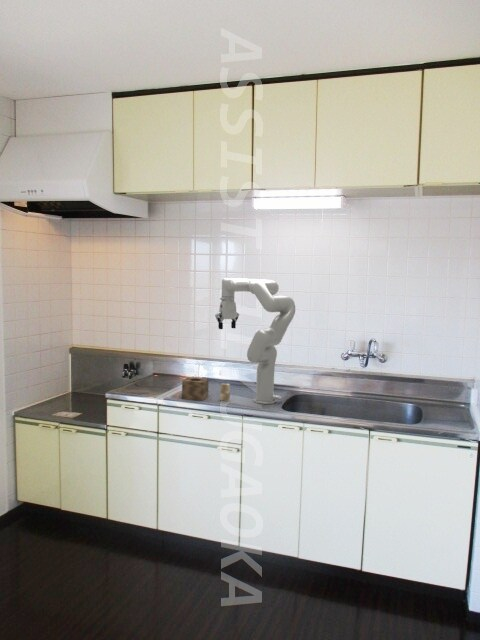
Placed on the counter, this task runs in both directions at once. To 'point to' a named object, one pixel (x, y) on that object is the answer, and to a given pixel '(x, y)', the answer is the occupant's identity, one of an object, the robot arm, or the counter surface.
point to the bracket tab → (225, 392)
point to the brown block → (195, 388)
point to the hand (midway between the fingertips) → (227, 328)
